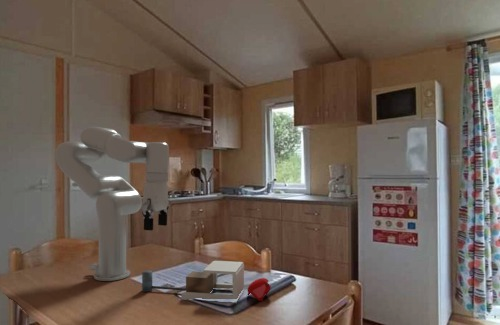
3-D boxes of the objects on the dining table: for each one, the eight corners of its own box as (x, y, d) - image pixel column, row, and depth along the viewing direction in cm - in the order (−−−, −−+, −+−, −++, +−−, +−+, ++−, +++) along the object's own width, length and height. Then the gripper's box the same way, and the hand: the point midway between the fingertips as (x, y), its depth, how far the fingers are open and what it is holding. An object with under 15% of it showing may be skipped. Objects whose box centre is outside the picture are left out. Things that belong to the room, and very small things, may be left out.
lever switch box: (181, 299, 107) (181, 268, 107) (193, 287, 118) (193, 259, 118) (236, 303, 104) (236, 271, 104) (244, 290, 115) (243, 262, 115)
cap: (275, 284, 111) (260, 273, 113) (272, 284, 105) (256, 271, 107) (260, 306, 109) (245, 294, 112) (257, 307, 104) (241, 294, 106)
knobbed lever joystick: (138, 292, 112) (138, 274, 112) (147, 286, 118) (147, 268, 118) (207, 297, 108) (207, 278, 108) (213, 291, 114) (213, 272, 114)
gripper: (159, 177, 131) (158, 223, 131) (133, 178, 114) (131, 231, 114) (177, 177, 129) (176, 224, 129) (154, 179, 112) (152, 233, 112)
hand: (155, 227), depth 121 cm, fingers open, 9 cm apart
